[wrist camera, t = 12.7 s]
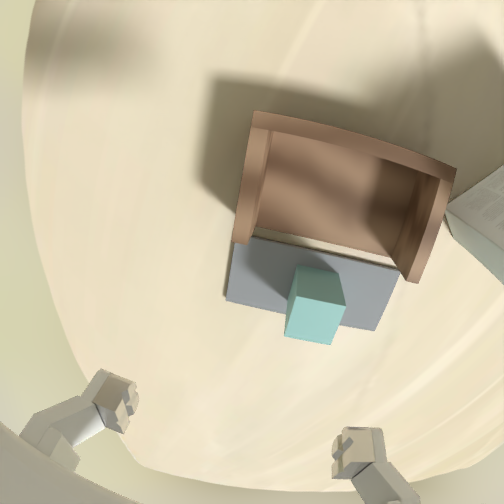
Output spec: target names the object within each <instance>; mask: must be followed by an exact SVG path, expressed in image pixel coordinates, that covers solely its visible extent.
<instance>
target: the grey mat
mask: <svg viewBox="0 0 504 504" xmlns="http://www.w3.org/2000/svg"><path fill="white" fill-rule="evenodd" d="M297 264H298V265H303V266H307V267H312V268H316V269H321V270H325V271H330V272H334V273H339V277H340V281H341V285H342V289H343V294H344V298H345V302H346V309H345V311H344V314H343V316H342V319H341V321H340V324H339V325H342V326H348V327H353V328H359V329H365V330H370V331H375V329H376V327H377V325H378V323H379V321H380V319H381V316H382V314H383V312H384V310H385V308H386V306H387V303H388V301H389V299H390V296H391V294H392V292H393V289H394V287H395V285H396V282H397V280H398V277H399V275H400V271H399V270H398V269H394V268H390V267H386V266H382V265H377V264H373V263H369V262H365V261H360V260H356V259H352V258H348V257H343V256H339V255H335V254H330V253H326V252H322V251H317V250H313V249H308V248H304V247H299V246H295V245H291V244H286V243H282V242H277V241H273V240H268V239H264V238H259V237H254V236H251V238H250V240H249V242H248V245H243V244H239V243H235V245H234V251H233V257H232V263H231V270H230V276H229V282H228V289H227V295H226V301H230V302H234V303H238V304H242V305H246V306H251V307H255V308H260V309H264V310H268V311H273V312H278V313H282V314H286V310H287V300H288V296H289V293H290V289H291V286H292V282H293V278H294V275H295V271H296V267H297Z"/></svg>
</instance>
